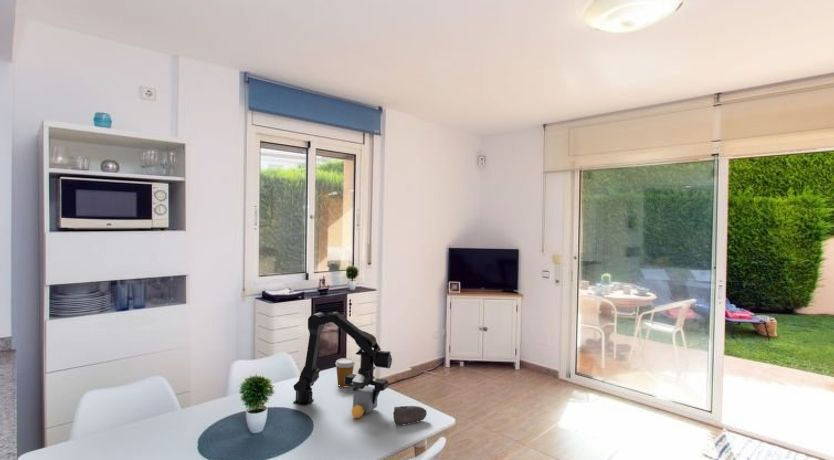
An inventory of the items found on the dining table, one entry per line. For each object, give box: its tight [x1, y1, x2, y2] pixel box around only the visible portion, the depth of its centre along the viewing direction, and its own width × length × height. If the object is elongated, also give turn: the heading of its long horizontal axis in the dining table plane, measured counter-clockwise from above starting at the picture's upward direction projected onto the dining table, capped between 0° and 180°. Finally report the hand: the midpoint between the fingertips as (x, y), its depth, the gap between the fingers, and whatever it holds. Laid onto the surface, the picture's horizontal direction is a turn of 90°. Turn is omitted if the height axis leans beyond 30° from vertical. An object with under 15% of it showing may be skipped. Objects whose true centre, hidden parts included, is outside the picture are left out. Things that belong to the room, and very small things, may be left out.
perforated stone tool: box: [393, 405, 427, 426], centre depth 172 cm, size 15×5×7 cm, turn 111°
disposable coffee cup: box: [335, 357, 356, 387], centre depth 211 cm, size 10×10×12 cm
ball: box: [351, 405, 365, 419], centre depth 175 cm, size 5×5×5 cm
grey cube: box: [352, 385, 378, 414], centre depth 181 cm, size 8×8×8 cm
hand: (365, 402), depth 181 cm, fingers closed on grey cube, 8 cm apart
